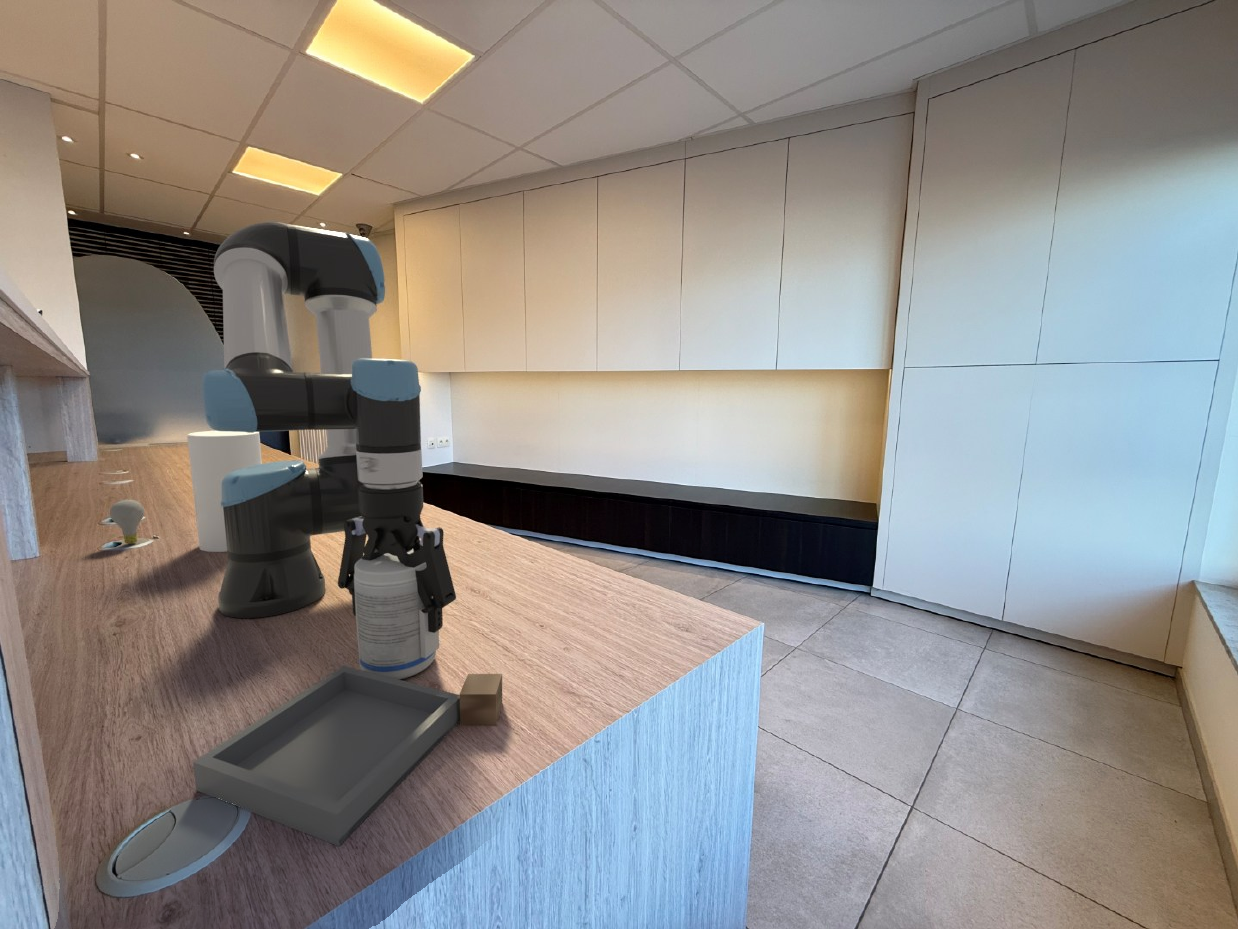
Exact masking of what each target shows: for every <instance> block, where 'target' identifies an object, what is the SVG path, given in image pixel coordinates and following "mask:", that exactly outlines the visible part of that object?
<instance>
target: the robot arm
mask: <svg viewBox="0 0 1238 929" xmlns="http://www.w3.org/2000/svg"><path fill="white" fill-rule="evenodd" d="M213 274H214V278H215V281H216V283H217V285H218V286H219V288H220V289H221V290H222V311H223V312H222V315H223V316H222V317H223V321H222V322H223V323H222V324H223V356H224V357H223V363H224V365H223V366H224V368H222V369H212V370H211V369H210V370H206V371H205V372H204V374H203V375H202V379H201V380H202V381H201V384H202V385H201V387H202V389H201V390H202V401H203V409H204V415H205V420H206V423H207V425H208V426H209V428H211V430H213V431H232V432H248V433H254V432H259V433H261V432H262V433H263V432H265V433H266V432H286V431H287V432H288V431H289V432H290V431H291V432H292V431H309V430H310V431H311V430H312V431H316V430H317V431H318V430H320V431H322V430H323V431H324V430H325V434H326V449H325V450H324V451H323V452H322V453H321V454H320V456H318V467H315V468H314V467H313V468H307V464H305V462H304V461H302V460H299V459H297V460H296V459H293V460H279V461H271V462H266V463H265V462H264V463H262V464H259V465H254V466H250V467H246V468H242V469H239V470H236V471H233V472H231V473H229V474H228V475H227V476H225V477H224V479H223V481H222V484H221V487H222V501H221V506H223V511H224V522H225V533H226V544H227V552H226V553H227V554H226V555H227V565H226V568H225V572H224V575H223V579H222V583H221V586H220V591H219V593H218V595H217V596H218V597H217V599H218V609H219V612H220V613H221V614H222V615H224V616H227V617H231V618H236V619H237V618H239V619H240V618H241V619H253V618H256V619H257V618H263V617H265V618H266V617H272V616H277V615H281V614H285V613H290V612H294V611H296V610H299V609H302V608H305V607H307V606H308V605H312V604H313V603H315V602H316V601H318V600H320V599H321V598H322V597H323V596H324V595H325V593H326V591H327V589H326V580H325V576H324V574H323V573H322V570H321V568H320V565H319V564H318V561H317V559H316V557H315V556H314V554H313V551H312V545H311V536H317V535H318V536H319V535H325V534H326V535H327V534H332V533H333V534H334V533H342V532H344V544H343V549H342V554H341V562H340V569H339V574H338V581H337V586H338V587H339V589H341V590H342V589H346V590H347V591H348V593H349V594H350V595H351V602H352V614H353V616H354V617H356V604H355V589H354V574H355V567H354V566H355V563H356V562H357V561H358V560H360V559H361V558H362V559H363V560H373V559H375V558H378V557H380V556H382V555H384V554H386V553H389V554H391V555H393V556H397V557H398V559H399V561H400V563H402V564H404V565H405V566H407V567H413V568H414V567H416V566H418V565H421V564H423V563H425V562H426V566H427V567H426V568H425V569H424V570H421V571H417V570H415V573H416V579H417V580H416V581H417V590H418V594H419V596H420V598H421V601H422V603H423V605H424V607H423V608H422V609H420V610H419V619H420V645H421V657H422V658H427V657H428V656H429V655H431V654H432V653H433V652H435V651H436V652H437V650H438V649H440V630H441V629H443V625H444V624H443V617H444V615H443V609H444V608H445V607H447V606H448V605H449V604H451V603H452V602H454V601H455V600H456V599H457V595H456V591H455V587H454V584H453V583H454V582H453V579H452V575H451V572H450V568H449V564H448V559H447V555H446V552H445V547H444V535H445V534H444V529H443V528H442V527H440V526H439V527H435V528H430V527H425V526H424V524H423V522H422V518H421V514H422V511H423V509H424V489H423V487H424V486H423V484H422V482H421V481H420V480H421V479H422V478H423V460H422V459H423V457H422V456H423V455H422V433H421V432H422V430H421V428H422V427H421V402H420V400H421V399H420V397H421V395H420V394H421V391H422V387H421V384H420V379H419V378H420V377H419V370H418V369H419V368H418V366H417V365H416V363H415V362H413V361H411V360H409V359H408V360H406V359H393V358H392V359H390V358H389V359H387V358H373V351H372V350H373V348H372V340H371V338H372V337H371V327H370V326H371V325H370V318H371V317H372V316H373V315H374V314H376V313H377V312H378V307H377V306H378V305H379V304H382V303H383V302H384V300H385V296H386V286H385V274H384V266H383V263H382V259H381V256H380V252H379V251H378V249H377V247H376V245H375V244H374V243H373V242H372V241H371V240H370V239H369V238H366V237H365V236H364V237H362V236H359V235H354V234H351V233H348V232H338V231H331V230H325V229H319V228H314V227H313V228H312V227H306V226H302V225H297V224H296V225H295V224H289V223H286V222H285V223H284V222H278V221H263V222H259V223H258V222H257V223H253V224H250V225H247V226H245V227H242V228H240V229H239V230H236V231H235V232H233V233H232V234H230V235H229V236H228V237H227V238H226V239H224V240H223V241H222V242H221V244H220V245H219V247H218V248H217V251H216V253H215V255H214V260H213ZM285 294H287V295H293V296H301V297H303V298H304V306H305V308H306V309H307V310H308V311H309V312H311V313H312V314H313V315H314V316H315V319H316V320H315V321H316V330H317V331H316V333H317V342H318V354H319V356H318V357H319V366H320V372H308V371H306V372H305V371H304V372H303V371H294V368H293V361H292V354H291V346H290V340H289V333H288V325H287V319H286V310H285V303H284V297H283V296H284V295H285ZM412 549H413V553H411V554H408V553H407V552H409V551H411V550H412ZM432 596H433V598H432ZM355 621H356V623H355V624H356V625H357V619H356V618H355ZM356 636H357V638H356V639H357V642H358V634H357V633H356Z"/></svg>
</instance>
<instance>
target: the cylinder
mask: <svg viewBox="0 0 1238 929" xmlns="http://www.w3.org/2000/svg"><path fill="white" fill-rule="evenodd" d="M186 435H187V436H186V437H187V438H186V440H187V448H188V456H189V458H188V459H189V466H190V474H191V484H192V494H193V500H194V510H195V517H196V518H195V519H196V529H197V535H198V536H197V537H198V546H199V550H201V551H203V552H208V553H223V552H224V553H225V552H226V553H227V544H226V533H225V522H224V511H223V506H221V501H222V487H221V484H222V481H223V479H224V477H225V476H227V475H228V474H229V473H231V472H233V471H236V470H239V469H242V468H246V467H250V466H254V465H259V464H263V461H262V460H263V459H262V448H261V438H260V436H261V434H260V432H254V433H248V432H232V431H216V430H208V431H196V432H191V433H187V434H186Z"/></svg>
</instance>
